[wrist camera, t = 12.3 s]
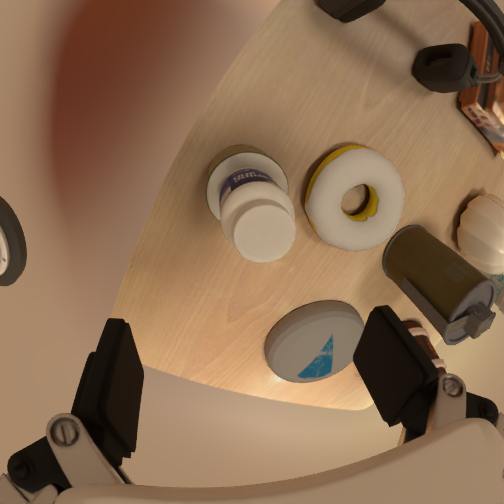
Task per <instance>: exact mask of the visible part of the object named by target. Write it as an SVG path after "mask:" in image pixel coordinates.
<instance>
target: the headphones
mask: <svg viewBox="0 0 504 504" xmlns="http://www.w3.org/2000/svg"><path fill="white" fill-rule="evenodd" d="M385 1H386V0H319V3H320V5H321V6H322V7H323V8H324V9H325V10H327V11H329V12H330V13H332V15H333V16H334V17H336V18H340V19H341V20H343V21H345V22H351V21H354V20H356V19H358V18H360V17H362V16H364V15H366V14H367V13H369V12H371V11H373V10H375V9H377V8H378V7H380V6H381V5H383V4H384V2H385ZM459 1H460V2H461V3H463V4H464V5H465V6H466V7H467V8H468V9H469V10H470V11H471V12H472V13H473V14H474V15H475V16H476V17H477V18H478V19H479V20H480V21H481V23H482V24H483V26H484V27H485V29H486V30H487V32H488V33H489V35H490V37H491V39H492V42H493V44H494V47H495V49H496V51H497V53H498V54H499V61H498V68H499V69H498V70H497V71H496V72H494V73H491V74H479V73H478V70H479V68H478V66H477V65H476V61H475V59H474V57H473V55H472V54H471V53H470V51H468V49H467V48H466V47H465V46H464V45H462V44H444V45H437V46H431V47H426V48H424V49H423V50H421V52H420V54H419V56H418V58H417V61H416V64H415V66H414V75H415V76H416V77H417V78H418V80H419V81H420V82H421V83H422V84H424V85H426V86H427V87H428V88H430V89H431V90H433V91H436V92H439V93H449V92H457V91H463V90H467V89H468V88H469V87H479V85H480V83H490V82H494V81H497V80H498V79H499V78H501V76H502V75H503V76H504V14H503V13H502V11H501V10H500V8H499V7H498V6H497V4H496V3H495V2H494V1H493V0H459ZM494 76H495V77H494ZM487 77H493V78H491V79H483V80H482V79H481V78H487Z"/></svg>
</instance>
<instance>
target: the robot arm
mask: <svg viewBox="0 0 504 504" xmlns="http://www.w3.org/2000/svg"><path fill="white" fill-rule="evenodd" d="M9 260H10V252H9V246H8V242H7V239H6V236H5V233H4V231H3V229H2V228H1V226H0V275H1V274H3V273H4V272H5V271H6V269H7V268H8V265H9ZM353 362H354V364H355V366H356V368H357V370H358V372H359V374H360V375H361V377H362V379H363V381H364V383H365V385H366V387H367V389H368V391H369V393H370V395H371V397H372V399H373V401H374V403H375V405H376V407H377V409H378V411H379V413H380V415H381V417H382V419H383V420H384V421H385V422H387V423H388V425H389V427H391V426H394V425H397V424H399V423H400V422H401V423H402V425H403V428H402V432H401V435H400V439H399V443H398V446H397V447H396V448H394V449H391V450H389V451H386V452H384V453H381V454H379V455H376V456H373V457H370V458H368V459H365V460H362V461H359V462H356V463H353V464H350V465H347V466H343V467H340V468H336V469H333V470H329V471H325V472H321V473H317V474H313V475H308V476H304V477H299V478H294V479H289V480H283V481H277V482H271V483H263V484H255V485H246V486H234V487H213V488H177V487H175V488H174V487H158V486H144V485H135V484H134V483H133V481H132V480H131V479H130V478H129V476H128V475H127V474H126V473H125V471H124V470H123V469H122V468H121V465H122V458H123V457H125V458H131V452H135V450H136V440H137V430H138V419H139V411H140V403H141V395H142V388H143V380H144V370H143V367H142V364H141V361H140V358H139V355H138V352H137V348H136V345H135V342H134V339H133V335H132V332H131V328H130V325H129V323H125V321H124V319H116V318H109V319H108V320H107V322H106V324H105V327H104V330H103V332H102V335H101V338H100V340H99V343H98V346H97V349H96V352H91V353H90V354H89V356H88V358H87V361H86V364H85V367H84V370H83V373H82V376H81V379H80V383H79V386H78V389H77V392H76V396H75V399H74V403H73V407H72V410H71V414H69V413H61V414H58V415H55V416H54V417H53V418H51V420H50V421H49V422H48V424H47V427H46V436H45V437H43V438H41V439H40V440H38V441H36V442H34V443H33V444H31V445H29V446H27V447H26V448H24V449H22V450H20V451H18V452H16V453H14V454H13V455H12V456H11V457H10V459H9V460H8V465H7V468H8V473H7V474H4V473H3V474H2V475H1V476H0V504H504V414H502V413H501V412H500V413H499V414H498V409H497V406H496V405H495V403H493V402H492V401H491V400H489V399H487V398H483V397H481V396H477V395H475V394H472V393H469V392H466V387H465V384H464V382H463V381H462V379H461V378H459V377H458V376H456V375H454V374H450V373H448V374H444V375H442V376H441V377H440V379H439V377H438V375H439V373H440V372H439V370H438V369H437V367H436V366H435V365H434V363H433V362H432V361H431V359H430V358H429V356H428V355H427V354H426V352H425V351H424V350H423V348H422V347H421V346H420V344H419V343H418V342H417V340H416V339H415V338H414V336H413V335H412V334H411V333H410V331H409V330H408V329H407V327H406V326H405V325H404V324H403V322H402V321H401V320H400V319H399V317H398V316H397V315H396V314H395V312H394V311H393V310H392V309H391V307H389V306H388V305H384V306H377V307H375V308H374V309H373V311H371V312H370V314H369V317H368V320H367V322H366V325H365V327H364V330H363V332H362V335H361V337H360V340H359V342H358V345H357V347H356V349H355V352H354V354H353Z"/></svg>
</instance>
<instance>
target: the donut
mask: <svg viewBox="0 0 504 504" xmlns="http://www.w3.org/2000/svg"><path fill="white" fill-rule="evenodd" d="M360 184H365V185H367V187H368V189H369V192H370V198H369V202H368V204H367V206H366V208H365V209H364V210H363V211H362V212H361V213H359V214H357V215H354V216H350V215H347V214H346V213H345V212H344V211H343V210H342V208H341V204H342V198H343V196H344V195H345V194H346V193H347V192H348V191H349V190H350V189H351V188H353V187H355V186H357V185H360ZM404 201H405V192H404V187H403V183H402V180H401V177H400V175H399V173H398V171H397V169H396V168H395V166H394V165H393V164H392V163H391V161H390V160H388V159H387V158H386V157H385V156H384V155H382V154H381V153H379V152H377V151H375V150H373V149H371V148H368V147H365V146H360V145H348V146H344V147H341V148H339V149H337V150H336V151H334V152H333V153H331V154H330V155H329V156H328V157H327V158H325V159H324V160H323V162H322V163H321V164H320V165H319V166H318V168H317V169H316V171H315V173H314V174H313V176H312V178H311V180H310V183H309V185H308V188H307V192H306V197H305V211H306V213H307V216H308V219H309V221H310V224H311V226H312V228H313V229H314V231H315V233H316V234H317V235H318V236H319V237H320V238H321V239H322V240H323V241H324V242H325V243H327V244H328V245H331V246H334V247H337V248H340V249H343V250H346V251H362V250H366V249H370V248H372V247H375V246H377V245H379V244H381V243H383V242H384V241H385V240H387V239H388V238H389V237H390V236H391V235H392V233H393V232H394V231H395V229H396V227H397V225H398V223H399V220H400V217H401V214H402V211H403V207H404Z"/></svg>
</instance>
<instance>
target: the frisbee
mask: <svg viewBox="0 0 504 504" xmlns="http://www.w3.org/2000/svg"><path fill="white" fill-rule="evenodd" d="M363 330H364V323H363V320H362V318H361V317H360V315H359V314H358V312H357V311H356V310H355V309H354V308H353V307H352V306H350V305H348V304H346V303H343V302H339V301H320V302H315V303H311V304H308V305H305V306H302V307H300V308H298V309H296V310H294V311H292V312H291V313H289V314H288V315H286V316H285V317H284V318H283V319H281V320H280V321H279V322H278V323H277V324H276V325H275V326H274V327H273V329H272V330H271V332H270V333H269V335H268V337H267V340H266V342H265V348H264V350H265V357H266V360H267V362H268V365H269V367H270V368H271V370H272V371H273V372H274V373H275V374H276V375H277V376H279V377H280V378H282V379H284V380H287V381H290V382H295V383H308V382H315V381H319V380H322V379H325V378H328V377H330V376H332V375H334V374H336V373H338V372H339V371H341V370H343V369H344V368H345V367H347V366H348V365H349V364H350V363H351V362H352V361H353V354H354V352H355V349H356V347H357V345H358V342H359V340H360V337H361V335H362V332H363Z"/></svg>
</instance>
